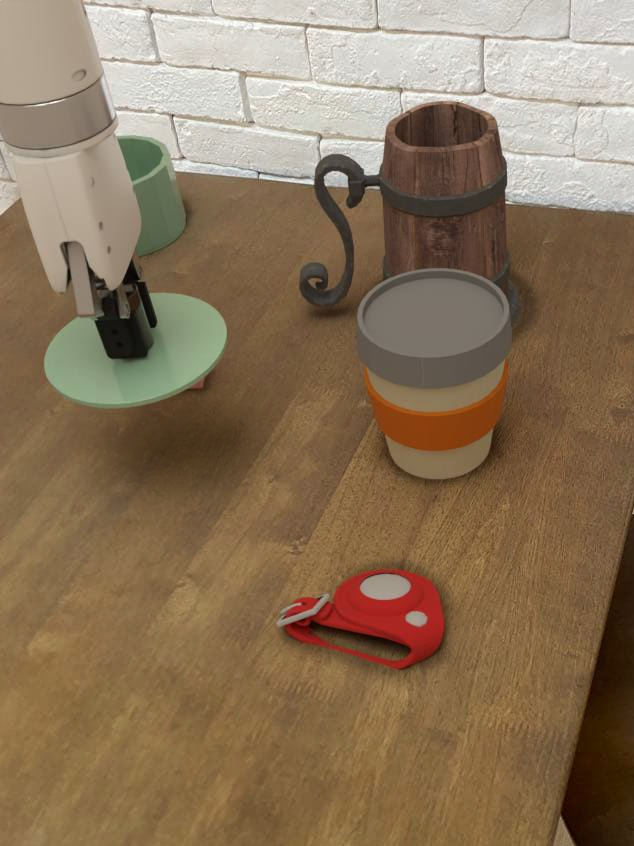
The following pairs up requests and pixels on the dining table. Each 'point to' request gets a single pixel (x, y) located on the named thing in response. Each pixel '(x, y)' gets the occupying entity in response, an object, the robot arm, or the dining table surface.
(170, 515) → the dining table surface
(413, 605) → the tracker holder
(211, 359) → the lid
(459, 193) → the tankard
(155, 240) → the pot
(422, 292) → the reusable coffee cup
